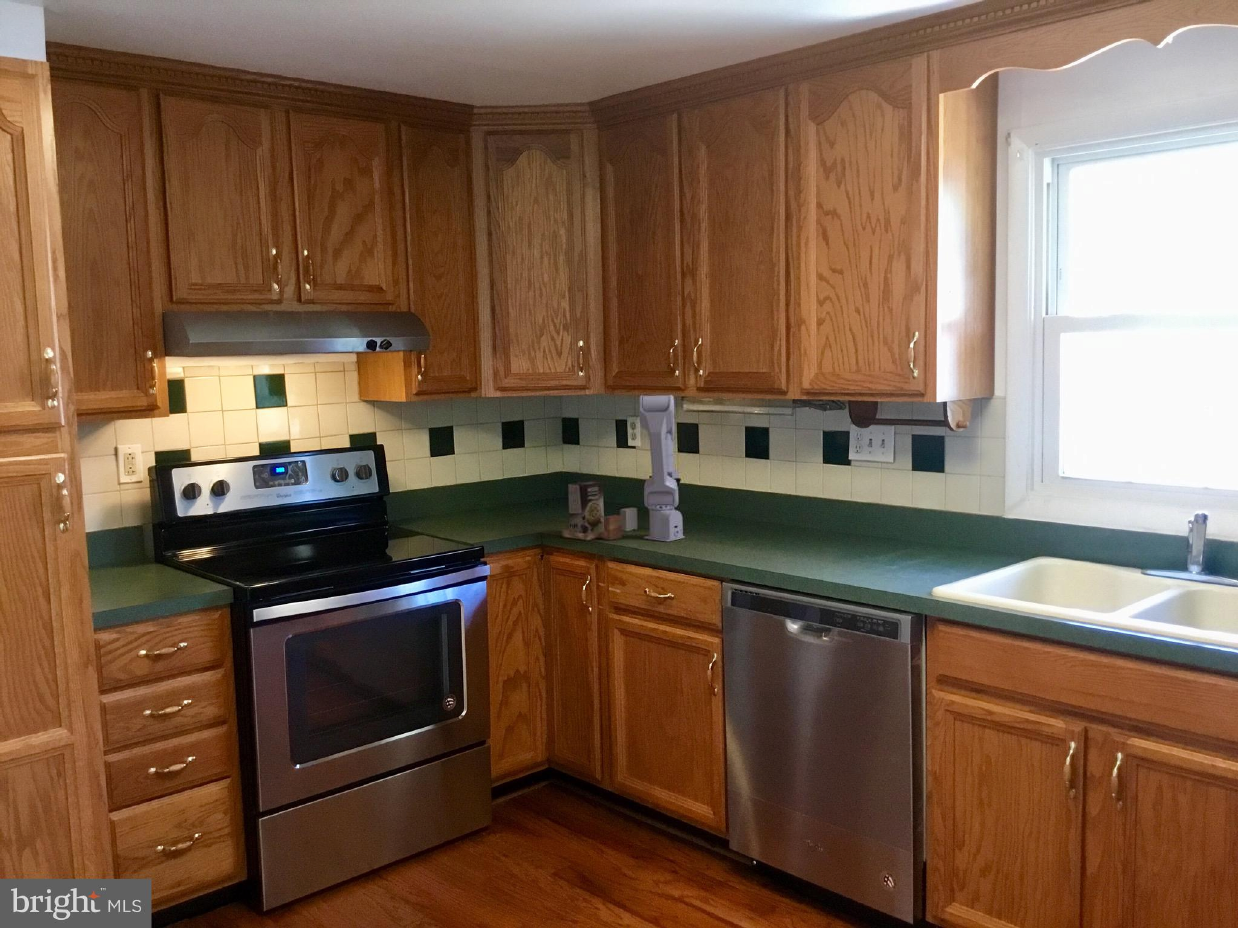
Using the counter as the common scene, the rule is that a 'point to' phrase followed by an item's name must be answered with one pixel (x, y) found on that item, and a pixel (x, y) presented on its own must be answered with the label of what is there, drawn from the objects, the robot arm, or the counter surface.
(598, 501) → the coffee box
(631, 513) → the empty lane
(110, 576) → the counter surface
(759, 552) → the counter surface
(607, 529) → the carton sled
